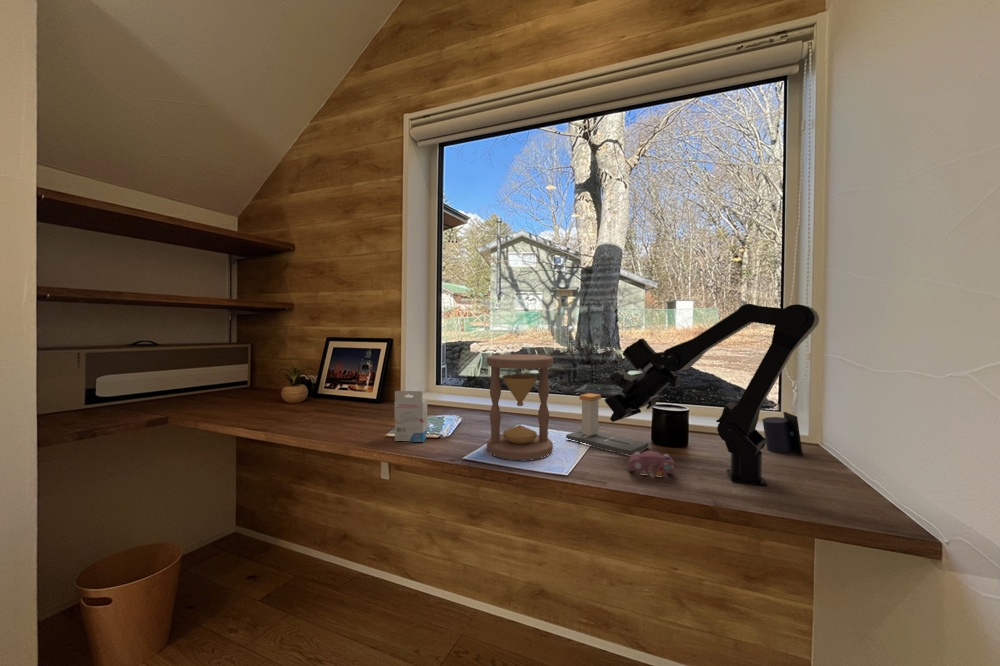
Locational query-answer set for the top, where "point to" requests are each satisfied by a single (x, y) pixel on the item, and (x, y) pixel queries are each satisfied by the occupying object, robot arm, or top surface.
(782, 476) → the top surface
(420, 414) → the ink box
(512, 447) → the hourglass
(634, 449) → the grey grooved tray
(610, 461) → the top surface
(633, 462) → the video game controller
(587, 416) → the fader knob
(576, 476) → the top surface
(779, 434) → the speaker
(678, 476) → the top surface
